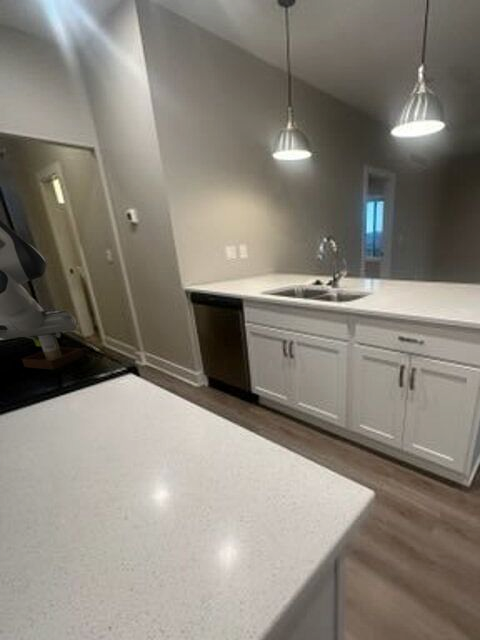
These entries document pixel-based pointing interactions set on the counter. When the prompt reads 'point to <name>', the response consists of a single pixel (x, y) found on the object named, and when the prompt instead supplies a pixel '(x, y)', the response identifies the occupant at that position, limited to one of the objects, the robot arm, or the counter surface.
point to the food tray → (67, 357)
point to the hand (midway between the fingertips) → (47, 337)
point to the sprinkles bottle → (49, 346)
